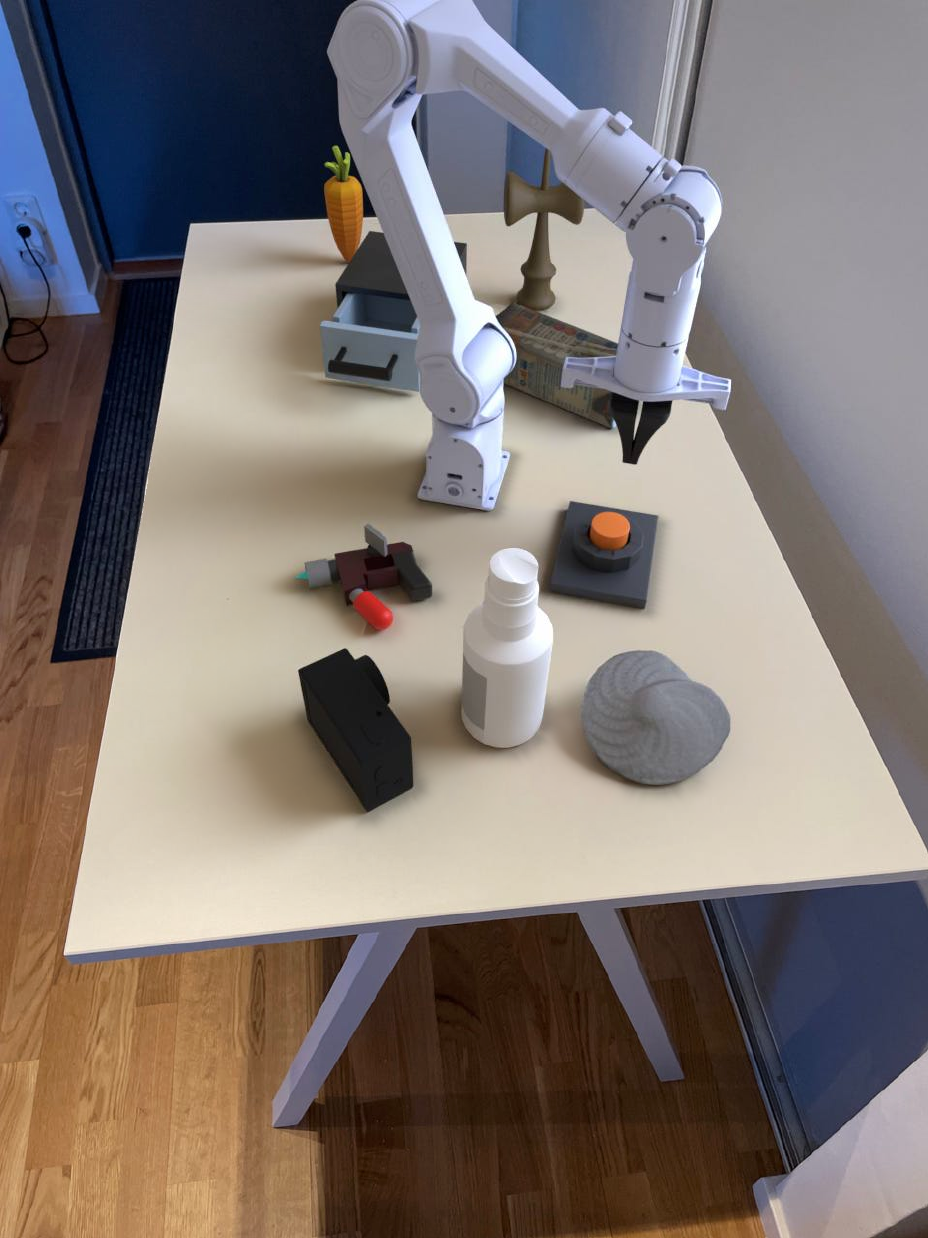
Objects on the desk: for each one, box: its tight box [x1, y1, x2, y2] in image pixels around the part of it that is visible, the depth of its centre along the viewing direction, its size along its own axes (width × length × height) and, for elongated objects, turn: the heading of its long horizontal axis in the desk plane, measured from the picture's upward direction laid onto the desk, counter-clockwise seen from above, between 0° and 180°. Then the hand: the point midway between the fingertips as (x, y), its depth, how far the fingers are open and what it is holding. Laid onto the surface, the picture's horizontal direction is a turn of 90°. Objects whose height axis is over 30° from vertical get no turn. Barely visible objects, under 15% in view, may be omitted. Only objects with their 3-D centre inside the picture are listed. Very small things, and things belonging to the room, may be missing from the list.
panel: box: [549, 500, 659, 610], centre depth 89 cm, size 12×9×3 cm
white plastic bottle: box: [461, 547, 554, 749], centre depth 70 cm, size 7×7×18 cm
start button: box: [590, 512, 630, 550], centre depth 87 cm, size 4×4×2 cm
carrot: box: [323, 145, 364, 264], centre depth 122 cm, size 5×5×15 cm
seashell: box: [580, 649, 732, 786], centre depth 74 cm, size 12×6×10 cm
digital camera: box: [297, 647, 415, 813], centre depth 72 cm, size 10×5×7 cm, turn 33°
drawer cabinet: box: [334, 230, 468, 309], centre depth 113 cm, size 14×13×9 cm
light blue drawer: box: [319, 292, 420, 393], centre depth 107 cm, size 17×11×7 cm
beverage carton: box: [495, 302, 618, 430], centre depth 106 cm, size 8×19×7 cm, turn 55°
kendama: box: [503, 148, 586, 311], centre depth 114 cm, size 6×10×20 cm, turn 91°
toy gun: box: [295, 523, 433, 631], centre depth 84 cm, size 10×12×5 cm
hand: (630, 457), depth 87 cm, fingers closed
